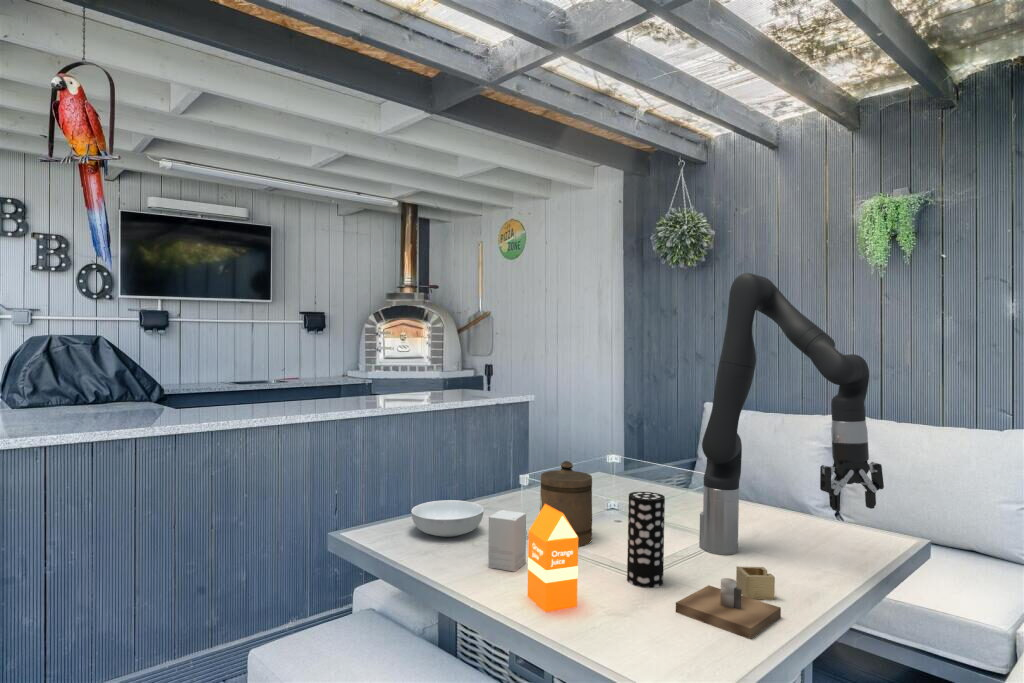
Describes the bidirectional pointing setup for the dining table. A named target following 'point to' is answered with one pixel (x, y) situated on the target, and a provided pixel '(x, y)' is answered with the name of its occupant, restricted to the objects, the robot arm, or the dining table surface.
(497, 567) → the supplement box
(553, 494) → the wooden container
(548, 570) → the orange juice
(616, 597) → the dining table surface
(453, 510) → the serving bowl
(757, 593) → the slotted square frame
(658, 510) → the spotted tube
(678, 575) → the dining table surface
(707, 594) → the shaft stand
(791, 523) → the dining table surface
